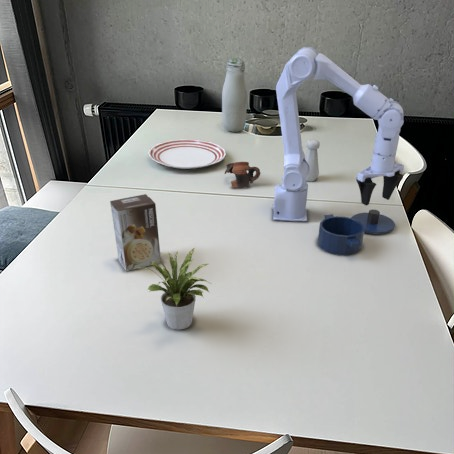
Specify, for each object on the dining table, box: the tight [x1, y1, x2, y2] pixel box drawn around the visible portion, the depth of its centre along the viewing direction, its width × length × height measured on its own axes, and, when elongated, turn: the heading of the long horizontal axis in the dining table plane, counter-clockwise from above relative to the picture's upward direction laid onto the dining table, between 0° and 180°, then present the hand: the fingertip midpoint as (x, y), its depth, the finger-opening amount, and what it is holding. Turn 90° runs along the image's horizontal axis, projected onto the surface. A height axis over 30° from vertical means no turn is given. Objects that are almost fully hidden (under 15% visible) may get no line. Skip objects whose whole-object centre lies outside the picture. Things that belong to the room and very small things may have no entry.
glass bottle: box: [221, 57, 248, 133], centre depth 207 cm, size 10×10×28 cm
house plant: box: [137, 247, 212, 331], centre depth 102 cm, size 14×14×16 cm
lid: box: [351, 209, 396, 235], centre depth 144 cm, size 12×12×4 cm
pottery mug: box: [224, 161, 261, 189], centre depth 168 cm, size 12×10×8 cm
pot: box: [317, 213, 365, 256], centre depth 134 cm, size 11×17×5 cm
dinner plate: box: [148, 138, 227, 170], centre depth 185 cm, size 27×27×3 cm
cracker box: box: [109, 193, 162, 272], centre depth 123 cm, size 9×6×16 cm
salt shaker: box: [305, 138, 321, 182], centre depth 169 cm, size 6×6×13 cm
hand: (375, 201), depth 141 cm, fingers open, 7 cm apart
